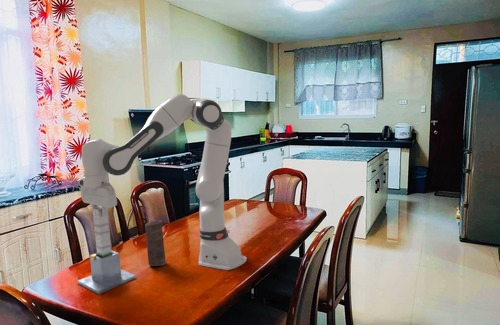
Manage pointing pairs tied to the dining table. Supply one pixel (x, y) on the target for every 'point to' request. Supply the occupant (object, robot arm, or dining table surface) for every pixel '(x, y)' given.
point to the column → (101, 233)
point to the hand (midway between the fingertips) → (100, 215)
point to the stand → (105, 274)
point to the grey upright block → (155, 243)
